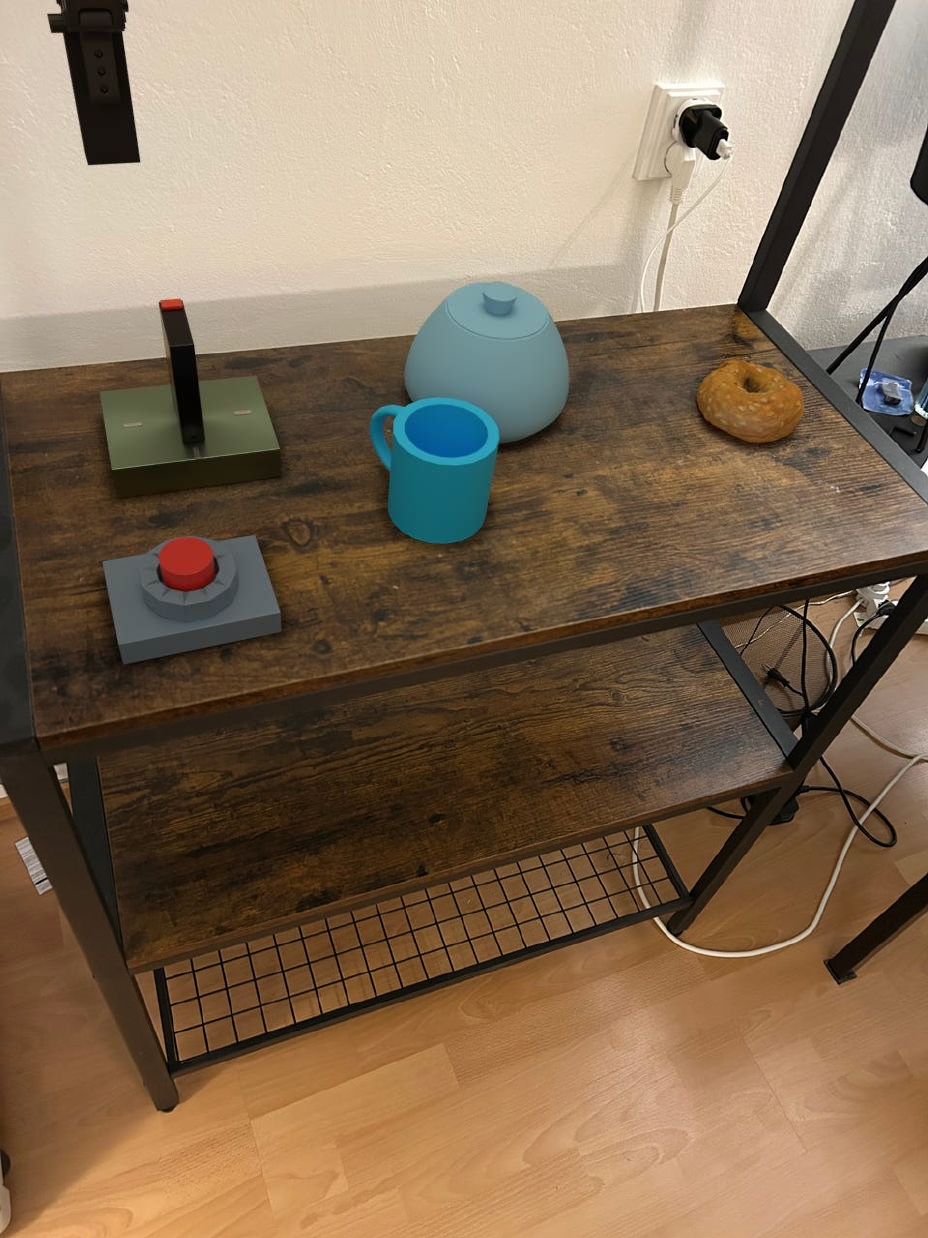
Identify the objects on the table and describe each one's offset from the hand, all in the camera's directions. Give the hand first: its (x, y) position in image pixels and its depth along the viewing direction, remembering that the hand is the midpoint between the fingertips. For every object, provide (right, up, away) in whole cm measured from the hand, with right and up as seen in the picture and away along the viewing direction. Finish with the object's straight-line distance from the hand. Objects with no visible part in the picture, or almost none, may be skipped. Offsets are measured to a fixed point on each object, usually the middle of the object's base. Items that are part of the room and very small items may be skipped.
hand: (112, 156), depth 52 cm
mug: (+15, -15, +29) cm, 36 cm away
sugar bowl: (+21, -5, +38) cm, 44 cm away
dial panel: (-4, -10, +29) cm, 31 cm away
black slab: (-4, -8, +27) cm, 29 cm away
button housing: (-1, -24, +18) cm, 30 cm away
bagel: (+46, -5, +41) cm, 62 cm away
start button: (0, -22, +16) cm, 27 cm away
